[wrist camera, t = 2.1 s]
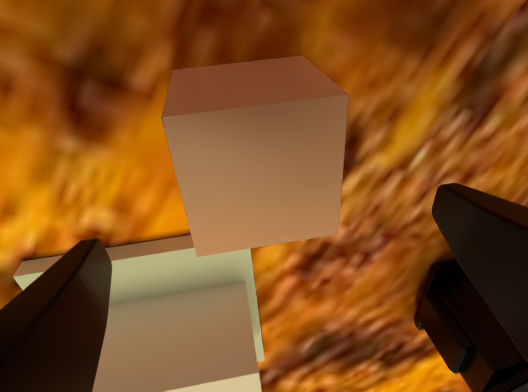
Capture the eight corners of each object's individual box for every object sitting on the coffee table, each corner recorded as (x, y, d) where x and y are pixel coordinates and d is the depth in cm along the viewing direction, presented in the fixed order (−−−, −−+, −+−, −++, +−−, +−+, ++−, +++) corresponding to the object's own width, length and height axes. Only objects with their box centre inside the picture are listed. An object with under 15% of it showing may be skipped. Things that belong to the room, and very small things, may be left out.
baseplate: (246, 226, 17) (249, 238, 17) (262, 346, 24) (264, 360, 23) (22, 261, 16) (13, 276, 16) (100, 377, 23) (96, 392, 22)
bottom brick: (245, 281, 18) (258, 372, 14) (253, 335, 21) (266, 424, 17) (52, 315, 17) (7, 422, 13) (88, 366, 20) (59, 468, 16)
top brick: (302, 54, 13) (348, 94, 9) (302, 166, 16) (338, 234, 12) (172, 69, 13) (161, 117, 9) (197, 181, 16) (196, 257, 12)
